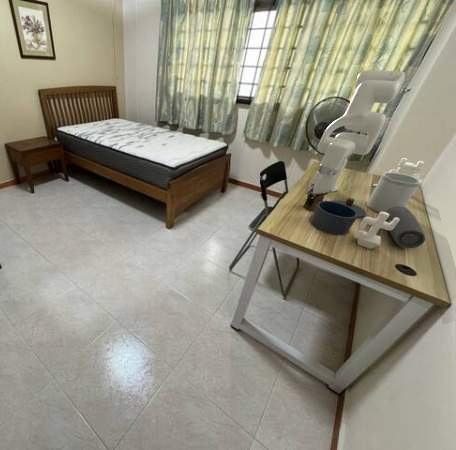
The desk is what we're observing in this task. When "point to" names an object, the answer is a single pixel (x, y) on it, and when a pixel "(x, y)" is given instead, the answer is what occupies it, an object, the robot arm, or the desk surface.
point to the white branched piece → (408, 168)
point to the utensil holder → (393, 191)
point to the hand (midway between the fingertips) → (312, 204)
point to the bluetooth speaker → (405, 228)
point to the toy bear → (316, 199)
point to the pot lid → (353, 206)
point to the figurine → (374, 229)
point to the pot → (333, 217)
